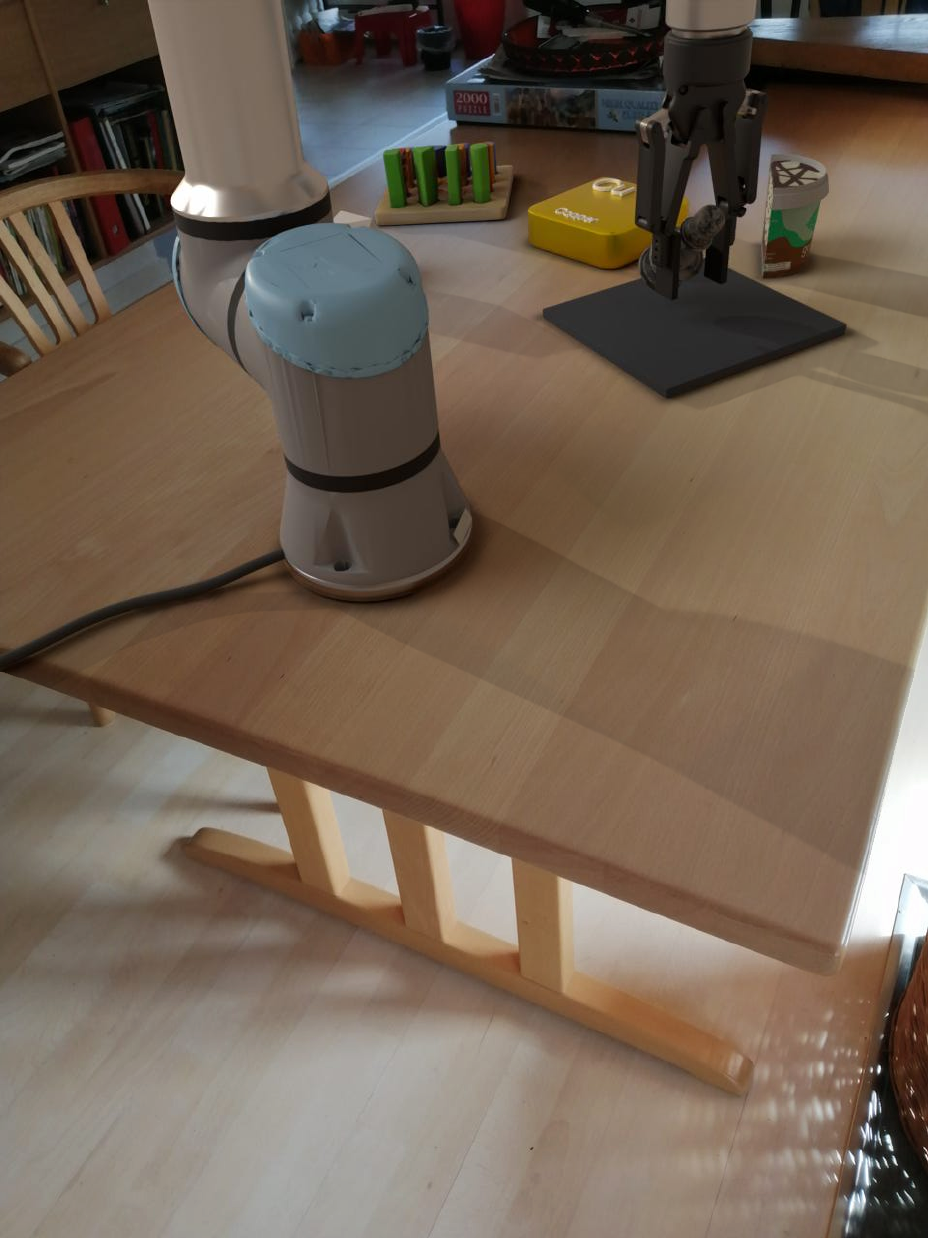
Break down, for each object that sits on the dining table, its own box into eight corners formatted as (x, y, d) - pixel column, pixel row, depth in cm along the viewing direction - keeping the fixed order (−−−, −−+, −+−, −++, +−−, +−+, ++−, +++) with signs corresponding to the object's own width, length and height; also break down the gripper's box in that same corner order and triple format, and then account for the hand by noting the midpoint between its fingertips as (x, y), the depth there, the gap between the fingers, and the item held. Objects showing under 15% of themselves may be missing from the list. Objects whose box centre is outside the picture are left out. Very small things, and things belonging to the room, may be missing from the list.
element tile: (521, 243, 125) (520, 204, 122) (603, 208, 132) (603, 170, 129) (611, 273, 116) (612, 231, 113) (694, 233, 123) (697, 193, 120)
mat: (666, 398, 94) (666, 389, 93) (542, 317, 109) (542, 308, 108) (845, 333, 100) (846, 324, 100) (705, 265, 116) (706, 256, 115)
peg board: (514, 176, 144) (511, 111, 139) (505, 220, 131) (502, 151, 126) (395, 182, 147) (387, 119, 141) (375, 226, 134) (365, 158, 128)
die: (411, 288, 119) (390, 204, 118) (375, 278, 111) (352, 188, 110) (351, 311, 123) (330, 229, 122) (312, 303, 115) (289, 216, 114)
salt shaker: (696, 269, 106) (759, 210, 95) (666, 306, 105) (727, 250, 93) (655, 231, 106) (714, 167, 94) (625, 268, 104) (681, 207, 92)
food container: (821, 283, 109) (836, 189, 103) (762, 283, 111) (773, 189, 104) (814, 240, 118) (828, 151, 112) (760, 240, 120) (771, 152, 113)
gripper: (763, 2, 92) (738, 252, 107) (595, 40, 86) (594, 299, 102) (821, 14, 87) (786, 275, 102) (647, 55, 81) (637, 324, 96)
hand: (690, 286), depth 102 cm, fingers closed on salt shaker, 5 cm apart
